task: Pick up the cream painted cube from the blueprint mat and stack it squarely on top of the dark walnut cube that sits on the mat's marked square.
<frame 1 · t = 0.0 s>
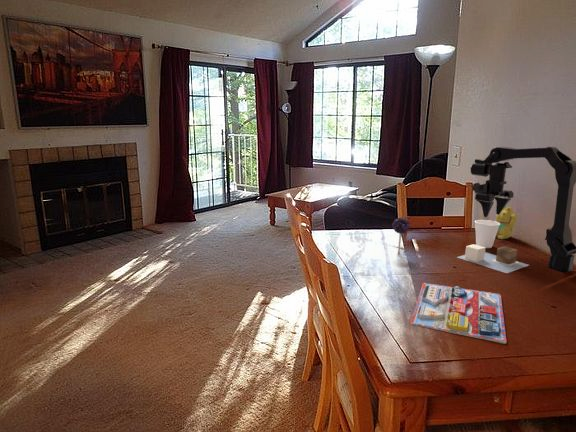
hand: (491, 215, 171), 15 cm above the table, fingers open, 9 cm apart
walnut block: (505, 261, 158), point 1 cm above the table, touching blueprint mat
cup: (483, 247, 178), on the table
blueprint mat: (492, 262, 158), on the table
figurine: (502, 237, 193), on the table
lollipop: (398, 254, 167), on the table
puzzle board: (458, 312, 119), on the table
cream block: (474, 259, 160), point 1 cm above the table, touching blueprint mat
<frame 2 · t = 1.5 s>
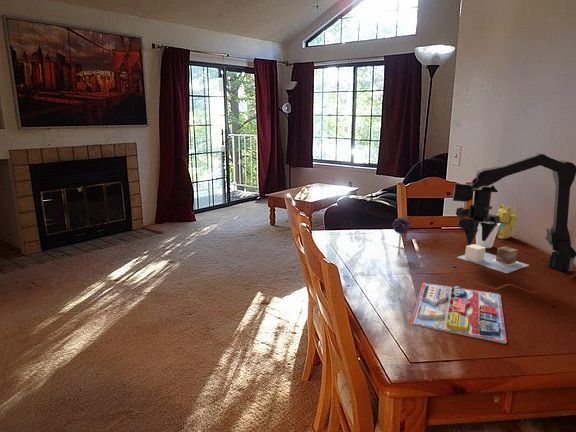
hand: (476, 242, 159), 7 cm above the table, fingers open, 9 cm apart
nothing on the table moved.
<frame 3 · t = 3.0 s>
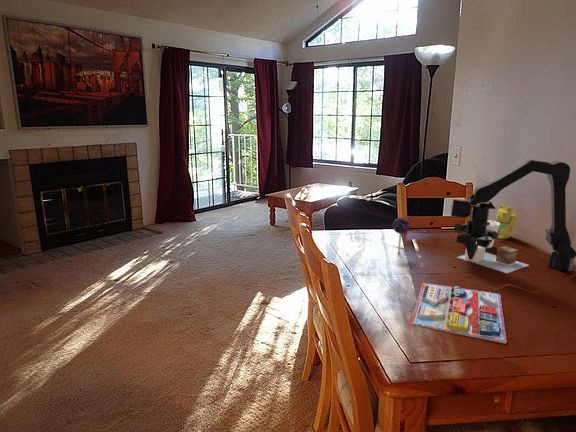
hand: (474, 258, 160), 1 cm above the table, fingers closed on cream block, 5 cm apart
cream block: (474, 259, 160), point 1 cm above the table, touching blueprint mat, gripper
everything else where it was.
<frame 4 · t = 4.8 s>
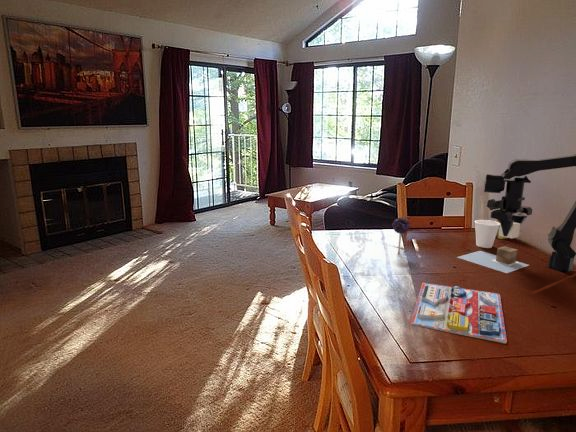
hand: (508, 234, 156), 11 cm above the table, fingers closed on cream block, 5 cm apart
cream block: (508, 235, 156), point 11 cm above the table, touching gripper
everything else where it was.
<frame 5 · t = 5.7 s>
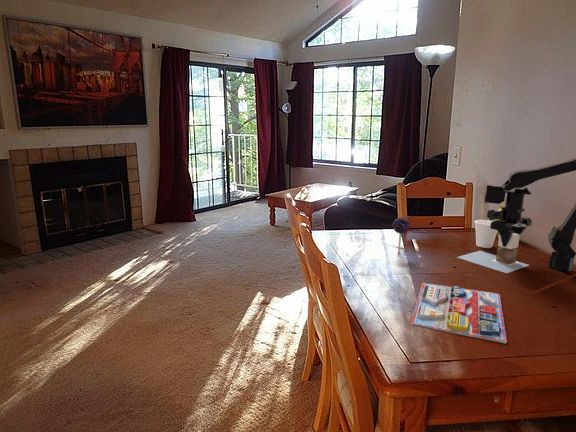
hand: (508, 245, 157), 7 cm above the table, fingers closed on cream block, 5 cm apart
cream block: (507, 246, 157), point 7 cm above the table, touching gripper
everything else where it was.
when the fingers open (7 cm above the table, at t = 6.4 s): cream block stays where it is, resting on walnut block.
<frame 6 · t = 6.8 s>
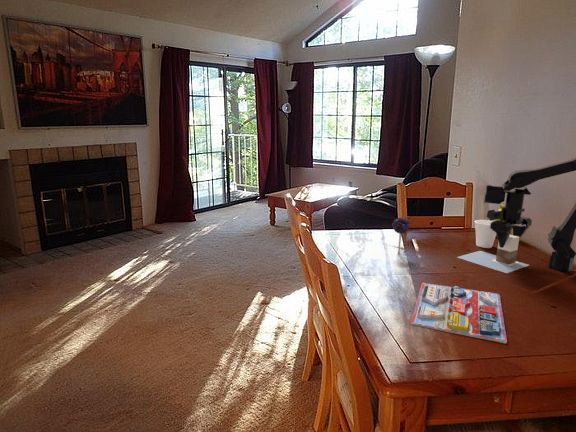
hand: (508, 245, 157), 7 cm above the table, fingers open, 9 cm apart
walnut block: (505, 261, 158), point 1 cm above the table, touching blueprint mat, cream block
cream block: (507, 248, 157), point 6 cm above the table, touching walnut block
everything else where it was.
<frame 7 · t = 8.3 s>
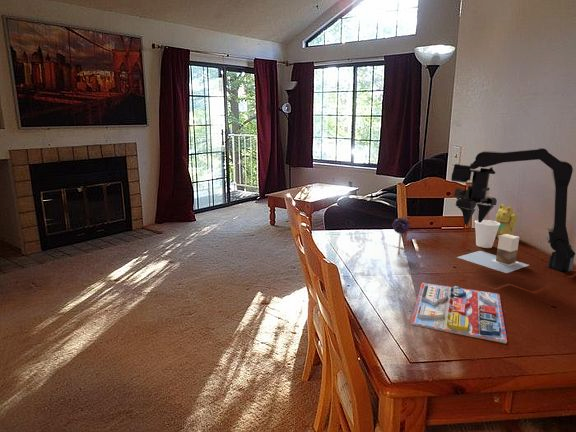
hand: (472, 223, 162), 14 cm above the table, fingers open, 9 cm apart
nothing on the table moved.
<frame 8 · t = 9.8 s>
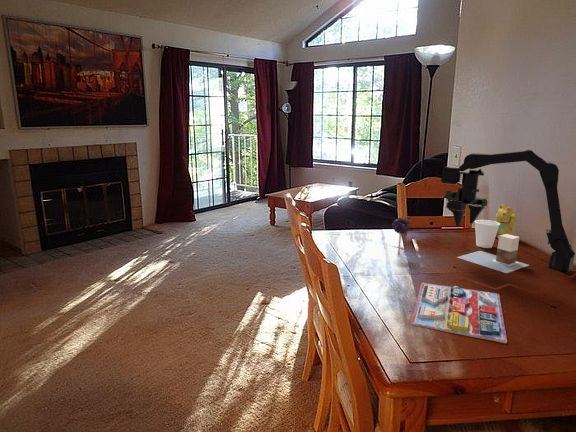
hand: (464, 224, 164), 12 cm above the table, fingers open, 9 cm apart
nothing on the table moved.
at the end: cream block 0.0 cm off-centre on the walnut block, point 5.0 cm above the walnut block's base; cream block tilted 0°; the gripper is holding nothing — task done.
